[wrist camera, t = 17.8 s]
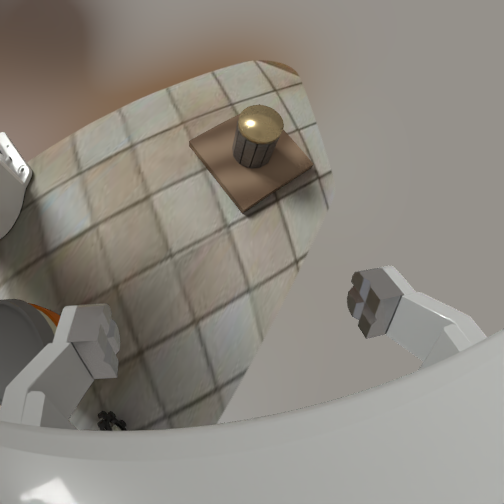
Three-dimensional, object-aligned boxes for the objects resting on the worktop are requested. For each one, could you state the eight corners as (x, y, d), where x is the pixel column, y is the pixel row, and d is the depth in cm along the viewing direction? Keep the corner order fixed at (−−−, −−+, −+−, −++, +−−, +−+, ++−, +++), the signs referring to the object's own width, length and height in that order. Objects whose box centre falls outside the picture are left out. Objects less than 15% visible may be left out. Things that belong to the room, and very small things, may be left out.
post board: (189, 145, 46) (189, 141, 45) (258, 109, 50) (259, 104, 48) (242, 213, 45) (243, 210, 44) (310, 168, 49) (313, 164, 47)
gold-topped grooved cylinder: (224, 146, 45) (229, 116, 38) (255, 129, 47) (264, 99, 39) (248, 175, 45) (257, 147, 37) (278, 156, 46) (292, 128, 39)
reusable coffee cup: (113, 364, 38) (71, 385, 23) (55, 401, 35) (3, 428, 20) (69, 288, 39) (15, 274, 24) (15, 329, 36) (-45, 329, 21)
